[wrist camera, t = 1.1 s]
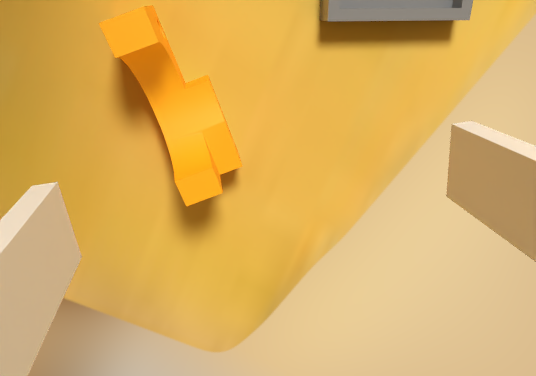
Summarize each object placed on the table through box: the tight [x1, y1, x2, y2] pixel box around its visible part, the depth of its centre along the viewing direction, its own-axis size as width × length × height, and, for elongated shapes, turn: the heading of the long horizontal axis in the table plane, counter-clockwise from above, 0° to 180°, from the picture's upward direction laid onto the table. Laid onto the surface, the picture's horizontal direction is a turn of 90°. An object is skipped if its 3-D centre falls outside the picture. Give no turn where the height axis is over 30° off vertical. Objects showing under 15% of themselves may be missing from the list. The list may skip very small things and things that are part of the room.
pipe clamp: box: [99, 5, 242, 207], centre depth 29 cm, size 12×4×6 cm, turn 18°
